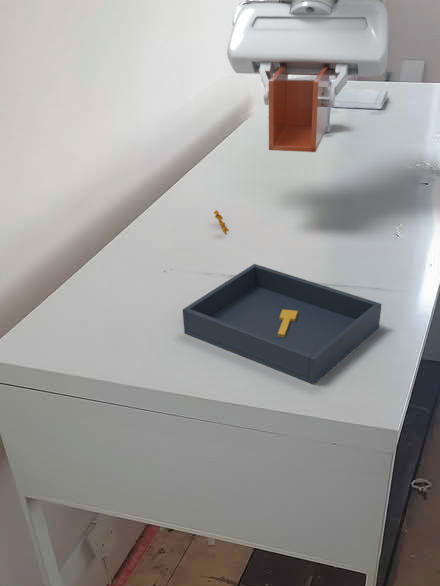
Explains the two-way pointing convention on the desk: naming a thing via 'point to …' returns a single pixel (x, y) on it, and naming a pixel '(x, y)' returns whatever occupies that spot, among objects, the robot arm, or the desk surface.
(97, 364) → the desk surface
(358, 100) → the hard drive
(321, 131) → the orange open trough
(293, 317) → the key
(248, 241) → the desk surface
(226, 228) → the orange stick
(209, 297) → the tray
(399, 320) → the desk surface
